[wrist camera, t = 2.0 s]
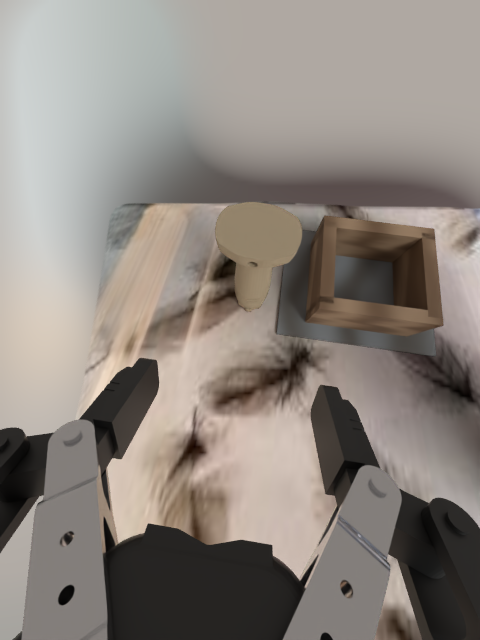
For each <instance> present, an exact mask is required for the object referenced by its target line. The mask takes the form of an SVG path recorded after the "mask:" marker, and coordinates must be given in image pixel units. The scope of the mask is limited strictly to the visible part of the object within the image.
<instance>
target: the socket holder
mask: <svg viewBox="0 0 480 640" xmlns="http://www.w3.org/2000/svg"><path fill="white" fill-rule="evenodd" d="M440 326H443V316H442V305H441V295H440V284H439V274H438V264H437V253H436V243H435V232H434V229H431V228H423V227H415V226H406V225H398V224H390V223H382V222H373V221H365V220H357V219H349V218H340V217H332V216H324V218H323V220H322V222H321V224H320V226H319V228H318V230H317V232H315V231H307V230H302V239H301V243H300V246H299V248H298V250H297V252H296V255H295V256H294V257H293V259H292V260H291V261H290V262H289V263H286V264H284V267H283V277H282V286H281V296H280V305H279V315H278V324H277V334H279V335H286V336H293V337H300V338H307V339H315V340H322V341H329V342H336V343H343V344H350V345H357V346H364V347H371V348H378V349H385V350H392V351H399V352H406V353H413V354H420V355H427V356H436V349H435V337H434V328H437V327H440Z"/></svg>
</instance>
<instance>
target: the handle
mask: <svg viewBox="0 0 480 640" xmlns="http://www.w3.org/2000/svg"><path fill="white" fill-rule="evenodd" d="M215 235H216V241H217V245H218V248H219V250H220V252H222V253H223V254H224V255H226V256H227V257H228V258H230V259H231V260H233V261H235V262H236V272H235V293H236V297H237V299H238V304H239V305H240V306H242V307H244V308H245V310H246V311H247V312H251V311H252V310H253V309H259V308H260V307H261V305H262V303H263V301H264V300H265V298H266V296H267V294H268V291H269V288H270V282H271V275H272V269H273V267H276V266H280V265H283V264H286V263H289V262H290V261H291V260H292V259H293V257H294V256H295V255H296V252H297V250H298V248H299V246H300V243H301V239H302V226H301V223H300V221H299V219H298V218H297V217H296V216H294V215H293V214H291V213H289V212H288V211H286V210H284V209H282V208H280V207H278V206H275V205H270V204H264V203H257V202H247V203H241V204H236V205H232V206H228V207H226V208H225V209H224V210H223V211H222V212H221V213H220V215H219V217H218V219H217V222H216V227H215Z"/></svg>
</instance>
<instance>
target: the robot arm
mask: <svg viewBox="0 0 480 640" xmlns="http://www.w3.org/2000/svg"><path fill="white" fill-rule="evenodd" d="M158 388H159V376H158V365H157V361H156V360H153V359H146V358H139V359H138V361H137V362H136V363H135V364H134V366H133V367H126V368H124V369H123V370H121V371H120V372H118V373H117V374H116V375H115V376H114V378H113V379H112V380H111V381H110V384H108V385H107V386H106V387H105V389H104V391H102V392H101V393H100V395H99V396H98V397H97V398H96V400H95V401H94V402H93V403H92V404H91V406H90V407H89V408H88V409H87V410H86V412H85V413H84V414H83V415H82V417H81V418H80V419H79V420H75V421H72V422H69V423H67V424H65V425H63V426H61V427H60V428H59V429H57V431H55V432H54V433H49V434H42V435H34V436H27V437H26V435H25V433H24V432H23V430H21V429H19V428H6V429H2V430H0V553H1V551H2V550H3V548H4V547H5V545H6V544H7V542H8V541H9V540H10V538H11V537H12V535H13V533H14V532H15V531H16V529H17V528H18V527H19V525H20V524H21V522H22V521H23V519H24V518H25V516H26V515H27V513H28V512H29V510H30V509H31V507H32V506H33V505H34V503H35V502H36V500H37V499H38V497H39V496H42V495H44V497H43V501H41V502H39V503H38V504H37V507H36V509H35V515H34V524H33V534H32V543H31V553H30V562H29V572H28V581H27V591H26V601H25V610H24V620H23V629H22V631H21V632H20V633H19V634H18V635H17V636H16V637H15V638H14V639H13V640H374V639H375V634H376V630H377V626H378V622H379V618H380V614H381V610H382V605H383V601H384V597H385V593H386V589H387V585H388V581H389V576H390V564H389V563H388V562H387V556H388V554H389V555H391V556H392V557H394V558H396V559H397V560H398V563H399V566H400V569H401V573H402V576H403V579H404V582H405V585H406V589H407V592H408V595H409V598H410V601H411V605H412V608H413V611H414V614H415V617H416V621H417V624H418V627H419V630H420V633H421V637H422V640H480V528H479V527H478V525H477V524H476V522H475V521H474V520H473V519H472V518H471V517H470V515H469V514H468V513H466V512H465V511H464V510H463V509H462V508H461V507H459V506H458V505H456V504H455V503H453V502H451V501H449V500H447V499H443V498H435V499H433V500H432V501H431V502H430V503H427V502H425V501H423V500H421V499H419V498H417V497H415V496H413V495H411V494H408V493H406V492H404V491H403V490H401V489H399V488H398V486H397V484H396V483H395V481H394V480H393V479H392V478H391V477H390V476H389V475H388V474H387V473H386V472H384V471H383V470H381V469H380V466H379V464H378V462H377V459H376V457H375V454H374V452H373V450H372V447H371V445H370V442H369V440H368V437H367V435H366V433H365V432H364V428H363V425H362V423H361V422H360V421H361V420H360V418H359V415H358V413H357V411H356V409H355V408H354V407H353V406H352V404H351V403H350V402H349V401H348V400H343V399H342V397H341V395H340V392H339V389H338V388H337V387H332V386H325V385H320V386H319V388H318V391H317V394H316V396H315V399H314V402H313V405H312V408H311V422H312V427H313V432H314V437H315V442H316V448H317V453H318V458H319V463H320V468H321V473H322V478H323V484H324V489H325V494H328V495H334V496H335V498H336V502H337V505H336V507H335V509H334V511H333V513H332V515H331V517H330V519H329V521H328V523H327V525H326V528H325V530H324V532H323V534H322V536H321V538H320V540H319V542H318V544H317V546H316V548H315V550H314V552H313V554H312V556H311V558H310V559H309V561H308V563H307V565H306V567H305V569H304V571H303V573H302V575H301V577H300V579H298V578H297V577H296V575H295V574H294V573H293V572H292V571H291V570H290V569H289V568H288V567H287V566H286V565H285V564H284V563H283V562H282V561H280V560H279V559H278V558H276V557H274V556H273V554H272V545H268V544H263V543H257V542H251V541H245V540H237V541H231V542H226V543H220V544H214V545H206V544H204V543H202V542H200V541H199V540H197V539H195V538H193V537H192V536H190V535H188V534H186V533H185V532H183V531H181V530H179V529H177V528H171V527H165V526H160V525H154V524H148V525H147V528H146V531H145V533H143V534H139V535H136V536H133V537H130V538H128V539H126V540H124V541H122V542H120V543H119V544H118V540H117V533H116V528H115V523H114V518H113V512H112V504H111V496H110V487H109V479H108V471H107V466H108V464H109V462H110V461H111V459H112V458H116V459H122V457H123V455H124V454H125V452H126V450H127V448H128V446H129V444H130V443H131V441H132V439H133V437H134V435H135V433H136V432H137V430H138V428H139V426H140V424H141V422H142V420H143V419H144V417H145V415H146V413H147V411H148V409H149V408H150V406H151V404H152V402H153V400H154V398H155V397H156V395H157V392H158Z"/></svg>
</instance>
